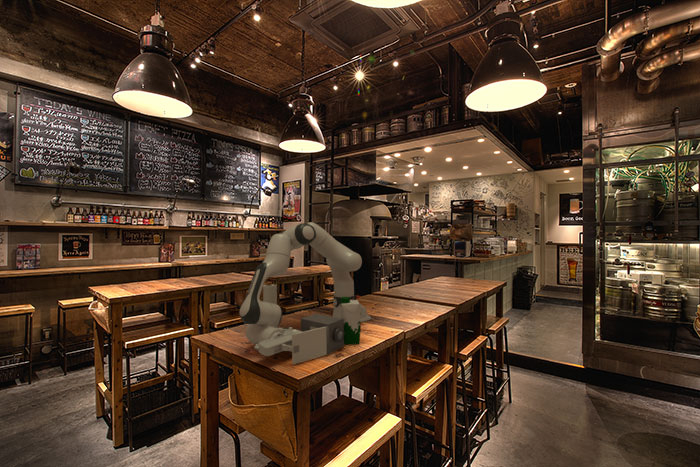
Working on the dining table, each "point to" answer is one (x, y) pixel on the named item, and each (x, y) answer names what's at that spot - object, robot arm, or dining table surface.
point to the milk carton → (350, 320)
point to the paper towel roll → (270, 293)
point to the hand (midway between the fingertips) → (296, 347)
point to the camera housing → (322, 321)
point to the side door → (310, 344)
